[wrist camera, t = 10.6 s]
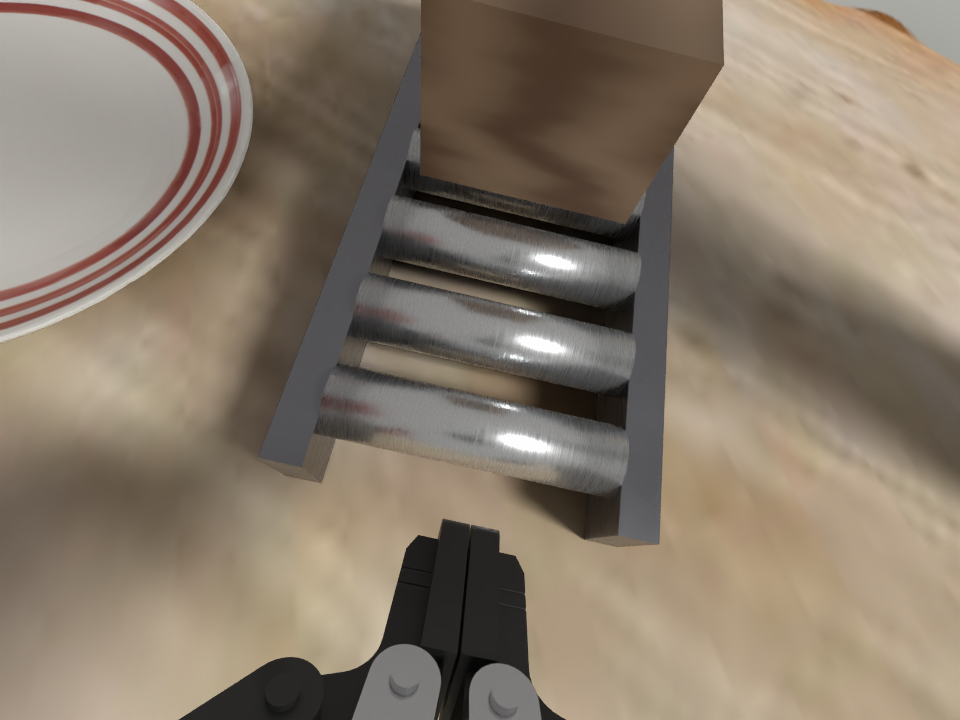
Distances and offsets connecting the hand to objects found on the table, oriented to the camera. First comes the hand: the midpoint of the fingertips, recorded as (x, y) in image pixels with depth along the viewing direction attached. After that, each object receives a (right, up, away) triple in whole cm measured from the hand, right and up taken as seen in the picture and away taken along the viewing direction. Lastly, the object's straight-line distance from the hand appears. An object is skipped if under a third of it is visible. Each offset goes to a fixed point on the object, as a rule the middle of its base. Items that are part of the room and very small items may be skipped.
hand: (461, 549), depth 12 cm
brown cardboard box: (+4, +19, +13) cm, 23 cm away
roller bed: (+2, +12, +15) cm, 19 cm away
